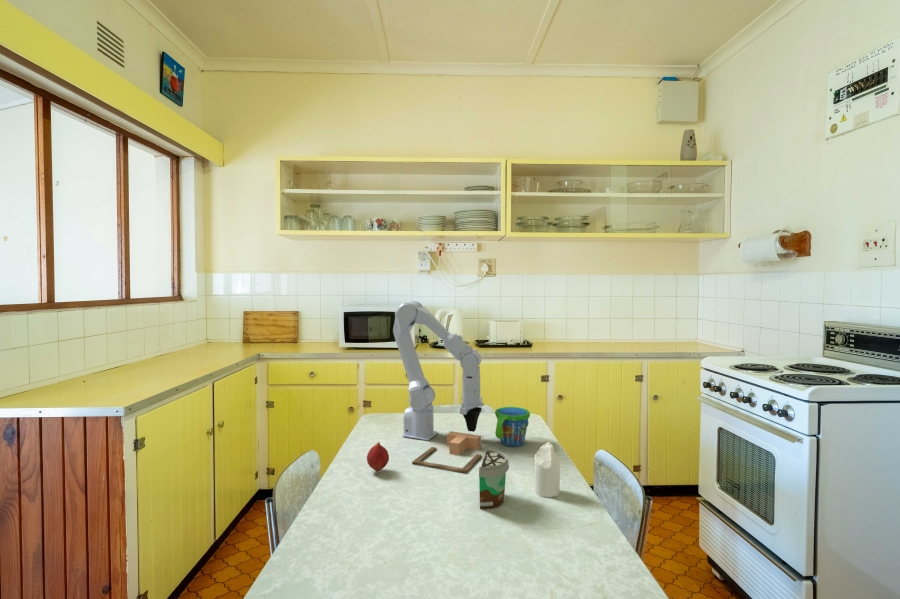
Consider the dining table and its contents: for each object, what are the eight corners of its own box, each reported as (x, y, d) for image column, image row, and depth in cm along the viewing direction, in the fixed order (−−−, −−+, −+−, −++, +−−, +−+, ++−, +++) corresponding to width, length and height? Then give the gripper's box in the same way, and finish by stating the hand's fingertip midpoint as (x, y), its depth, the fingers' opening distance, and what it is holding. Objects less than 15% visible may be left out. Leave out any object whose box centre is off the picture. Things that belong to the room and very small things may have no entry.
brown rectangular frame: (412, 463, 129) (412, 461, 129) (431, 448, 141) (431, 446, 141) (465, 473, 123) (465, 471, 123) (481, 456, 134) (481, 454, 134)
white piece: (533, 446, 110) (535, 438, 115) (533, 495, 110) (535, 485, 116) (559, 448, 108) (560, 440, 114) (559, 498, 109) (560, 488, 114)
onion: (362, 473, 123) (362, 443, 123) (375, 465, 128) (375, 437, 128) (380, 477, 121) (380, 447, 120) (393, 469, 126) (392, 440, 125)
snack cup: (514, 433, 155) (514, 402, 154) (541, 441, 147) (541, 409, 147) (483, 444, 144) (483, 412, 144) (509, 454, 136) (509, 419, 136)
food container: (506, 515, 101) (506, 470, 101) (478, 512, 103) (478, 467, 102) (510, 489, 113) (511, 449, 113) (485, 487, 115) (485, 447, 114)
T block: (450, 442, 146) (450, 431, 146) (480, 446, 142) (480, 435, 142) (438, 452, 138) (438, 440, 138) (470, 457, 134) (470, 445, 134)
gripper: (475, 395, 140) (475, 439, 141) (490, 384, 153) (490, 425, 154) (453, 393, 143) (453, 436, 143) (470, 383, 156) (471, 423, 157)
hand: (471, 430), depth 149 cm, fingers closed
